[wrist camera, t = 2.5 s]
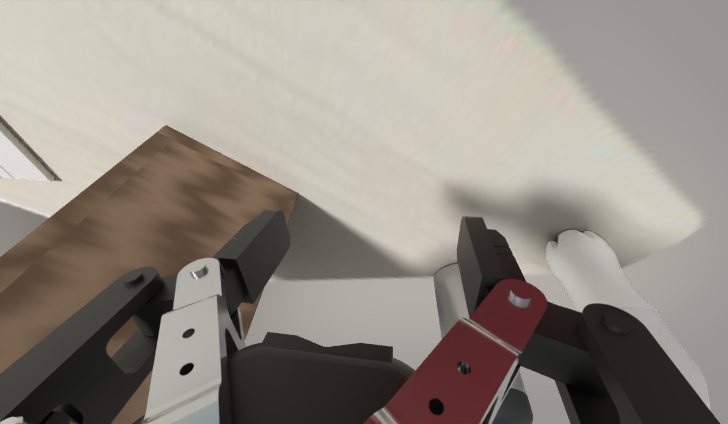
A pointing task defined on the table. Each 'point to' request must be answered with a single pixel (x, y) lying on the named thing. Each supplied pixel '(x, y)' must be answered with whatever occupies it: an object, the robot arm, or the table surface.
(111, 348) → the rack
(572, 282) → the water bottle
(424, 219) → the table surface
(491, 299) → the robot arm
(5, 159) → the baseboard molding
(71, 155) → the table surface
